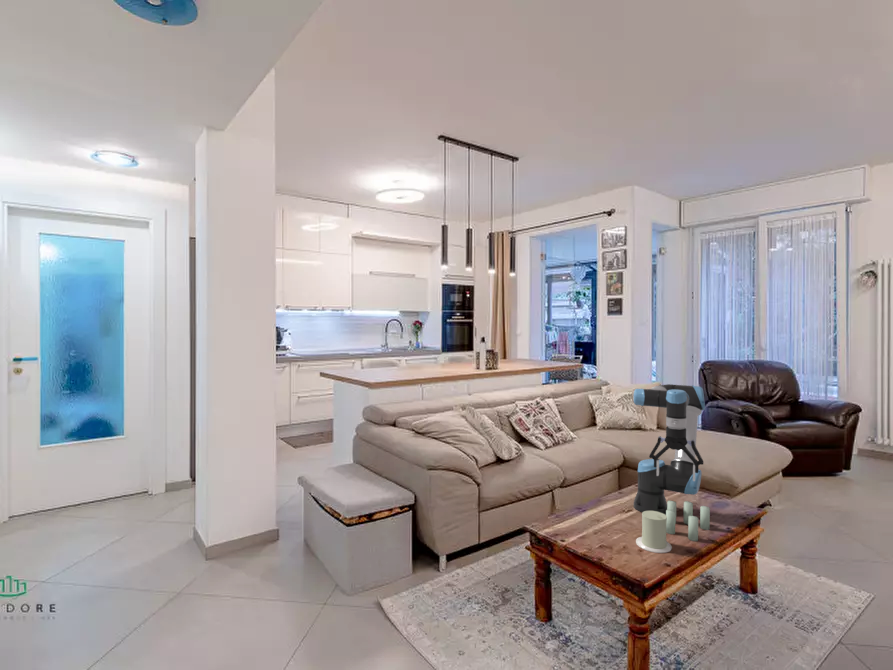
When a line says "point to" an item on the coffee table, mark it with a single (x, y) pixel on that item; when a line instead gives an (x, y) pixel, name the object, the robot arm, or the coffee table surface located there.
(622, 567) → the coffee table surface
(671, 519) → the posts
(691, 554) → the coffee table surface
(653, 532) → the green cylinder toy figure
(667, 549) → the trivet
